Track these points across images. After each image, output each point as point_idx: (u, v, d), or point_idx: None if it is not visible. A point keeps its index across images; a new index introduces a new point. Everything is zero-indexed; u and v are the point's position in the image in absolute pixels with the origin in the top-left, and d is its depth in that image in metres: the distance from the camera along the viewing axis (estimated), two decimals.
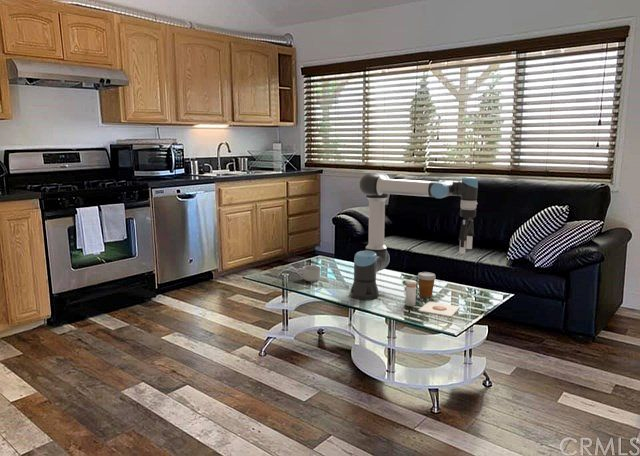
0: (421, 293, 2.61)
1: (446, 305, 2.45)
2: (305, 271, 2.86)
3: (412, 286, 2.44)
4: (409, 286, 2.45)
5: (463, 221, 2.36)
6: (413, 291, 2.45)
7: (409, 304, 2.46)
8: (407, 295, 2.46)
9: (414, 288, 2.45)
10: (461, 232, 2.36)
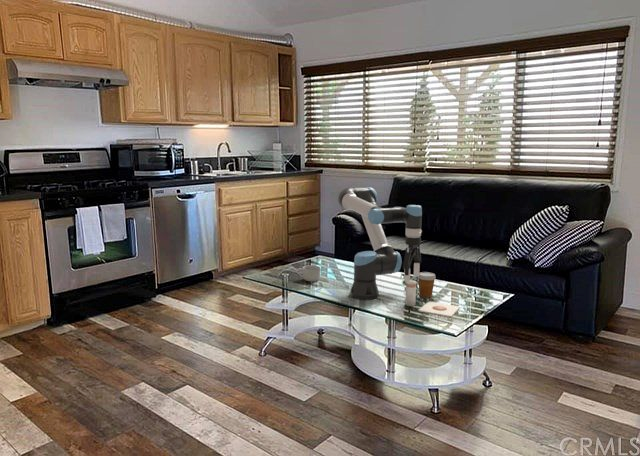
0: (421, 293, 2.61)
1: (446, 305, 2.45)
2: (305, 271, 2.86)
3: (412, 286, 2.44)
4: (409, 286, 2.45)
5: (407, 249, 2.38)
6: (413, 291, 2.45)
7: (409, 304, 2.46)
8: (407, 295, 2.46)
9: (414, 288, 2.45)
10: (405, 260, 2.37)
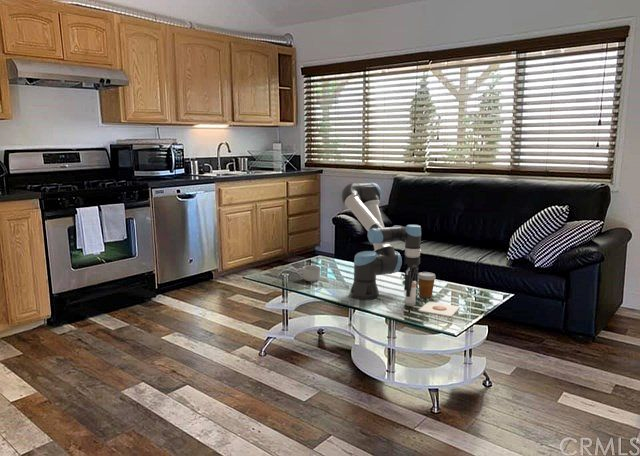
0: (421, 293, 2.61)
1: (446, 305, 2.45)
2: (305, 271, 2.86)
3: (412, 286, 2.44)
4: None
5: (406, 272, 2.40)
6: (413, 291, 2.45)
7: (409, 304, 2.46)
8: None
9: (414, 288, 2.45)
10: (406, 283, 2.42)
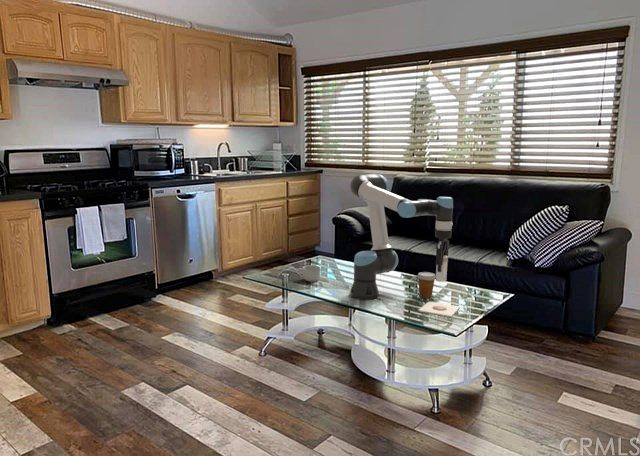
0: (421, 293, 2.61)
1: (446, 305, 2.45)
2: (305, 271, 2.86)
3: (443, 261, 2.35)
4: None
5: (438, 246, 2.30)
6: (444, 266, 2.35)
7: (440, 280, 2.36)
8: None
9: (445, 263, 2.35)
10: (437, 257, 2.32)
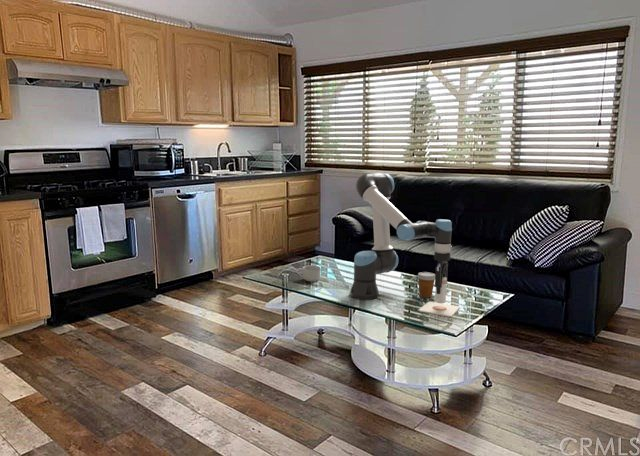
0: (421, 293, 2.61)
1: (446, 305, 2.45)
2: (305, 271, 2.86)
3: (442, 283, 2.36)
4: None
5: (437, 268, 2.32)
6: (443, 288, 2.37)
7: (439, 301, 2.38)
8: None
9: (444, 285, 2.37)
10: (436, 279, 2.33)
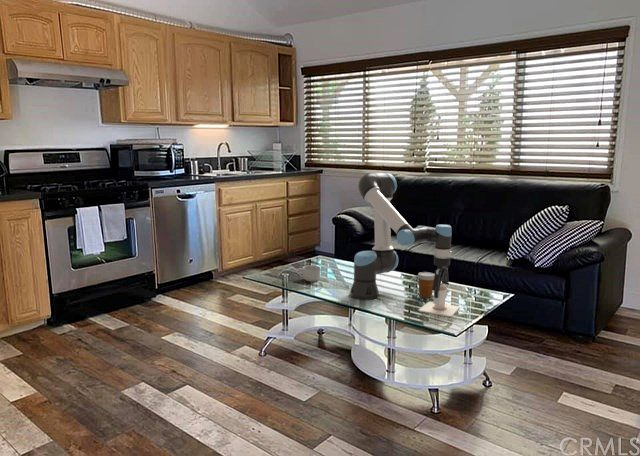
0: (421, 293, 2.61)
1: (446, 305, 2.45)
2: (305, 271, 2.86)
3: (442, 289, 2.37)
4: (439, 289, 2.37)
5: (436, 271, 2.32)
6: (443, 294, 2.38)
7: (439, 308, 2.39)
8: None
9: (444, 291, 2.38)
10: (434, 283, 2.32)
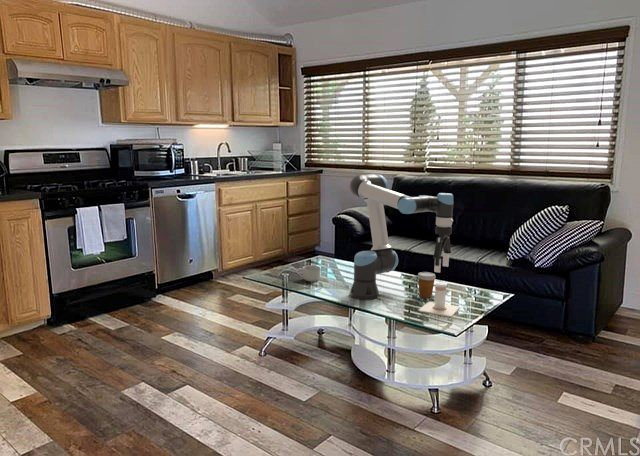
0: (421, 293, 2.61)
1: (446, 305, 2.45)
2: (305, 271, 2.86)
3: (442, 289, 2.37)
4: (439, 290, 2.37)
5: (438, 239, 2.30)
6: (443, 294, 2.37)
7: (439, 308, 2.39)
8: (436, 299, 2.39)
9: (444, 291, 2.38)
10: (436, 250, 2.29)
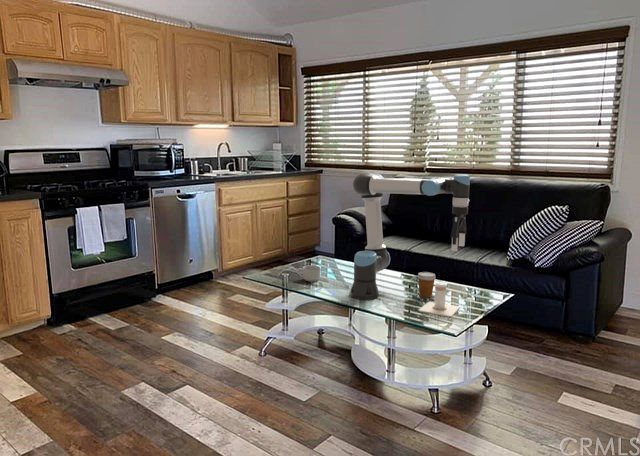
0: (421, 293, 2.61)
1: (446, 305, 2.45)
2: (305, 271, 2.86)
3: (442, 289, 2.37)
4: (439, 290, 2.37)
5: (455, 218, 2.37)
6: (443, 294, 2.37)
7: (439, 308, 2.39)
8: (436, 299, 2.39)
9: (444, 291, 2.37)
10: (453, 229, 2.36)
